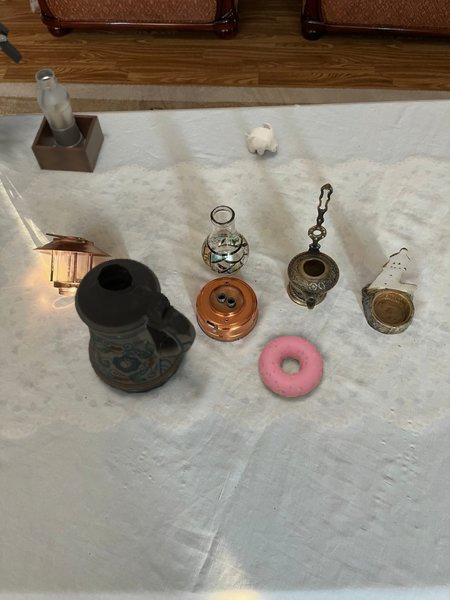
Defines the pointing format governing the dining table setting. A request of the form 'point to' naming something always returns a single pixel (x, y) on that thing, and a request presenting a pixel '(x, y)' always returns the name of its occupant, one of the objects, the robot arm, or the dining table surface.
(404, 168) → the dining table surface
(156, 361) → the dark ceramic jug
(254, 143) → the elephant figurine
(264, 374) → the doughnut
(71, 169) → the crate
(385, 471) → the dining table surface
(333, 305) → the dining table surface
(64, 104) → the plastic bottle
